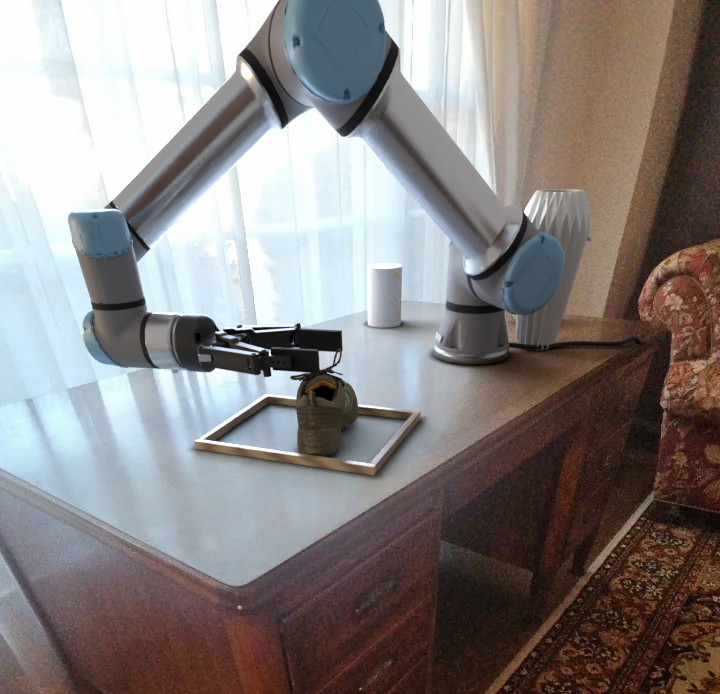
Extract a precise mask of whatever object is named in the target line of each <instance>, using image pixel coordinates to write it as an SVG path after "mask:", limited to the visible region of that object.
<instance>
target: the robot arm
mask: <svg viewBox="0 0 720 694" xmlns="http://www.w3.org/2000/svg"><path fill="white" fill-rule="evenodd" d="M385 23H386V21H385V17H384V13H383V10H382V6H381V4H380V2H379V0H277V2H276V4H275V5H274V7H273V8H272V10H271V11H270V13H269V14H268V16H267V17H266V19H265V20H264V22H263V24H262V25H261V27H260V28H259V29H258V30H257V32H256V34H254V36H253V37H252V39H251V40H250V41H249V42H248V44H247V45H246V46H245V47H244V49H242V51H240V53H238V55H236V56H235V60H234V61H235V63H234V64H235V65H234V72H233V73H232V74H231V75H230V76H229V78H227V79H226V80H225V82H223V84H222V85H221V86H220V87H219V88H217V90H216V91H215V92H213V94H212V95H211V96H210V97H209V98H208V99H207V100H206V101H205V102H204V103H203V104H202V105H201V106H200V107H199V108H198V110H196V111H195V113H194V114H193V115H192V116H191V117H189V119H187V121H186V122H185V123H184V124H183V125H182V126H181V127H180V128H179V129H178V130H177V131H176V132H175V133H174V135H172V136H171V138H170V139H169V140H167V142H166V143H165V144H164V145H163V146H162V147H161V148H160V149H159V150H158V151H157V152H156V153H155V154H154V155H153V156H152V157H151V158H150V159H149V160H148V161H147V162H146V163H145V164H144V166H142V168H140V170H139V171H138V172H137V173H136V174H134V176H133V177H132V178H131V179H130V180H129V181H128V182H127V183H126V184H125V185H124V186H123V187H122V188H121V189H120V190H119V191H118V193H117V194H116V195H114V197H112V199H111V200H110V201H109V202H108V203H107V204H106V205H105V206H104V207H103V208H91V209H90V208H89V209H80V210H73V211H71V212H70V213H69V214H68V216H67V223H68V227H69V231H70V235H71V243H72V246H73V248H74V250H75V253H76V256H77V260H78V264H79V266H80V270H81V273H82V276H83V279H84V282H85V286H86V289H87V292H88V295H89V299H90V304H91V310H90V311H88V312H87V313H86V315H85V316H84V317H83V319H82V326H81V327H82V329H83V333H82V339H83V343H84V346H85V349H86V350H87V352H88V353H89V354H90V356H91V357H92V358H93V359H94V360H95V361H97V362H98V363H100V364H103V365H108V366H114V367H120V368H124V369H129V368H135V369H136V368H137V369H156V370H171V373H173V374H178V373H179V371H188V372H194V373H195V372H197V373H212V372H213V371H215V370H216V369H218V370H225V371H230V372H235V373H242V374H248V375H253V376H259V375H261V374H262V375H263V378H270V377H272V371H280V372H281V371H282V372H295V373H319V372H320V370H321V368H320V352H327V353H328V352H329V353H336V352H337V350H338V349H340V348H341V350H342V351H341V352H342V353H343V331H342V330H341V329H319V328H302V325H301V322H300V321H295V324H257V325H255V324H254V325H253V324H252V325H250V324H242V323H239V324H237V325H236V327H235V326H225V327H223V328H222V330H220V329H219V328H218V326H217V324H216V322H215V321H214V319H212V317H210V315H208V314H204V313H203V314H201V313H199V314H198V313H184V314H183V313H181V312H163V311H162V312H161V311H160V312H159V311H157V312H156V311H152V312H150V311H148V306H147V301H146V296H145V295H144V290H143V286H142V285H143V284H142V279H141V276H140V271H139V267H138V262H139V261H141V259H143V258H144V257H145V256H146V254H147V253H148V252H149V251H150V250H151V249H152V248H153V247H154V246H155V245H156V244H157V243H158V242H159V241H160V240H161V239H162V238H163V237H164V236H165V235H166V234H167V233H168V232H169V231H170V230H171V229H172V228H173V227H174V226H176V224H177V223H178V222H179V221H180V220H181V219H182V218H183V217H184V216H185V215H186V214H187V213H188V212H189V211H190V210H191V209H192V208H193V207H194V206H195V205H197V203H198V202H199V201H200V200H202V198H203V197H204V196H206V195H207V193H209V191H211V189H213V188H214V187H215V186H216V185H217V184H218V183H219V182H220V181H221V180H222V178H223V177H225V175H227V174H228V173H229V171H231V169H233V168H234V167H235V166H236V165H237V164H238V163H239V162H240V161H241V160H243V158H244V157H245V156H246V155H247V154H248V153H249V152H250V151H251V150H252V149H253V148H254V147H256V145H257V144H258V143H259V142H260V141H261V140H262V139H263V138H265V136H266V135H267V134H268V133H269V132H275V133H281V132H282V131H283V129H284V128H286V127H287V125H289V124H290V123H291V122H292V121H294V120H295V119H296V118H298V117H299V116H300V115H302V114H305V113H306V112H308V111H310V110H313V109H315V110H316V111H317V112H318V113H319V114H320V115H321V116H322V117H323V119H324V120H325V121H326V122H327V123H328V124H329V125H330V126H331V127H332V128H333V129H334V130H335V132H337V133H338V135H339V136H340V137H341V138H342V139H343V140H349V139H357V138H358V139H360V141H361V142H362V143H363V144H364V146H366V147H367V148H368V149H369V151H370V152H371V153H372V154H373V155H374V156H375V158H376V159H377V160H378V161H379V162H380V163H381V164H382V165H383V166H384V167H385V169H386V170H387V171H388V172H389V173H390V174H391V175H392V176H393V177H394V179H396V181H397V182H398V183H399V185H401V186H402V187H403V189H404V190H405V191H406V192H407V193H408V194H409V195H410V196H411V198H412V199H413V200H414V201H415V202H416V203H417V204H418V205H419V206H420V208H421V209H422V210H423V211H424V212H425V213H426V214H427V216H429V217H430V219H432V221H433V222H434V223H435V224H436V225H437V226H438V228H439V229H440V230H441V231H442V232H443V233H444V234H445V235H446V236H447V238H448V239H449V242H448V243H449V244H448V248H449V251H448V267H447V283H446V284H447V285H446V296H445V297H446V298H445V299H446V300H445V312H444V315H443V318H442V321H441V324H440V326H439V330H438V331H436V333H435V336H434V338H435V341H434V344H433V355H434V357H435V358H436V359H439V360H441V361H444V362H447V363H450V364H451V363H452V364H459V365H489V364H495V363H498V362H501V361H504V360H506V359H507V358H508V356H509V352H510V351H509V350H510V349H511V348H512V349H521V350H522V349H523V350H525V349H526V350H529V349H530V350H529V351H536V349H538V350H537V351H541V350H540V349H542V346H541V345H539V346H538V347H537V345H528V344H520V343H515V342H510V341H509V334H508V329H507V322H506V321H507V320H506V315H505V311H506V312H507V313H508V314H510V313H511V314H516V315H517V314H518V315H529V314H532V313H535V312H537V311H539V310H540V309H542V308H543V307H544V306H545V305H546V304H547V303H548V302H549V301H550V300H551V299H552V297H553V296H554V294H555V293H556V291H557V289H558V287H559V285H560V282H561V280H562V276H563V274H562V272H563V268H564V265H565V258H564V251H563V248H562V246H561V244H560V242H559V241H558V240H557V239H556V238H555V237H553V236H551V234H548V233H541V232H539V231H538V230H537V229H536V227H535V226H534V225H533V224H532V222H531V221H530V220H529V218H528V217H527V216H526V214H525V213H524V210H523V209H522V208H521V206H520V205H518V204H508V205H505V204H504V203H503V202H502V200H501V199H500V198H499V197H498V196H497V194H496V193H495V192H494V190H493V189H492V187H490V185H489V184H488V183H487V181H486V180H485V179H484V178H483V176H481V174H480V173H479V171H478V170H477V168H476V167H475V166H474V165H473V164H472V162H471V161H470V160H469V158H468V157H467V156H466V155H465V153H464V152H463V151H462V149H461V148H460V147H459V146H458V144H457V143H456V142H455V141H454V139H453V138H452V137H451V135H450V134H449V133H448V132H447V130H446V129H445V128H444V126H443V125H442V123H440V121H439V120H438V118H437V117H436V116H435V115H434V113H433V112H432V111H431V110H430V108H429V107H428V106H427V104H426V103H425V102H424V100H423V99H422V98H421V97H420V96H419V94H418V92H416V90H415V89H414V88H413V86H411V84H410V82H409V81H408V80H407V79H406V77H405V76H404V75H403V74H402V71H401V48H400V47H399V45H398V44H397V43H396V41H394V39H393V37H392V36H391V35H390V34H389V32H388V31H387V30H386V25H385ZM630 342H635V344H636V345H642V344H643V342H642V341H641V339H640V338H639V337H638V336H635V335H632V336H630V337H627V338H624V339H622V340H618V341H591V340H574V341H573V340H571V341H561V342H555V343H553V344H549V347H548V350H550V348H551V349H557V348H563V347H618V346H619V347H620V346H623V345H626V344H628V343H630ZM546 348H547V346H546V345H544V348H543V350H544V349H546ZM269 351H270V352H269Z"/></svg>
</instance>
